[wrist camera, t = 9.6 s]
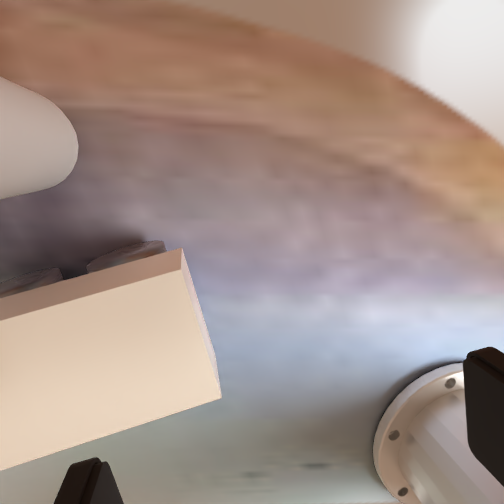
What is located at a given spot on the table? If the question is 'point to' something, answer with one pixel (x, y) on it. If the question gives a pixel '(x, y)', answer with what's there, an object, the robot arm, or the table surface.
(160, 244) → the cylinder
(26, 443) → the slab
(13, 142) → the beverage can
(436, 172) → the table surface
